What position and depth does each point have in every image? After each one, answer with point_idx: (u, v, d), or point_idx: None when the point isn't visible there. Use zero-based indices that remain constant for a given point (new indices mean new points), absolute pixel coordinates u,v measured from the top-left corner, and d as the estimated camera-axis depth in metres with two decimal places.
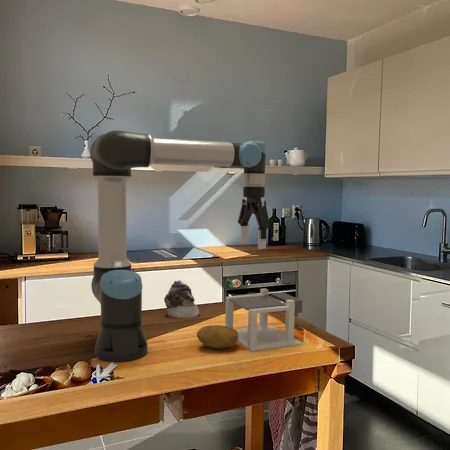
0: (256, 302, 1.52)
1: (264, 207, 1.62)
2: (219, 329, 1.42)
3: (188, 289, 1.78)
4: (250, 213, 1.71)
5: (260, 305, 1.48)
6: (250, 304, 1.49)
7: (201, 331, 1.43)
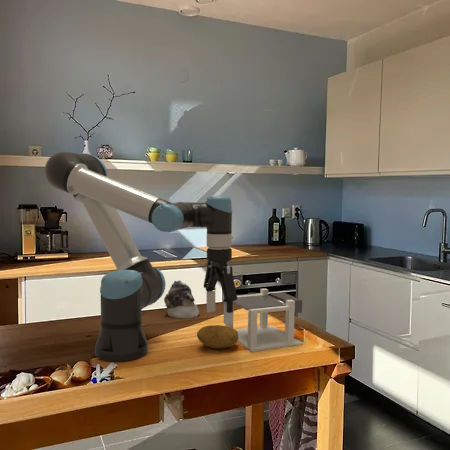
0: (256, 302, 1.52)
1: (230, 275, 1.37)
2: (219, 329, 1.42)
3: (188, 289, 1.78)
4: (216, 277, 1.47)
5: (260, 305, 1.48)
6: (250, 304, 1.49)
7: (201, 331, 1.43)
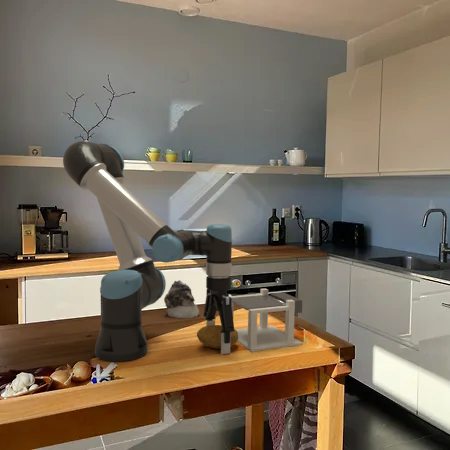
0: (256, 302, 1.52)
1: (229, 306, 1.38)
2: (219, 329, 1.42)
3: (188, 289, 1.78)
4: (216, 306, 1.47)
5: (260, 305, 1.48)
6: (250, 304, 1.49)
7: (201, 331, 1.43)
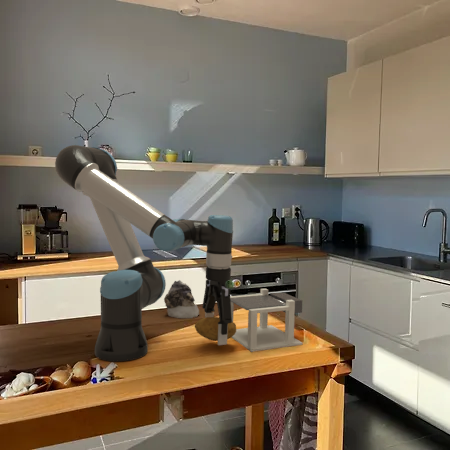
0: (256, 302, 1.52)
1: (228, 297, 1.38)
2: (217, 321, 1.42)
3: (188, 289, 1.78)
4: (215, 297, 1.47)
5: (260, 305, 1.48)
6: (250, 304, 1.49)
7: (199, 322, 1.43)
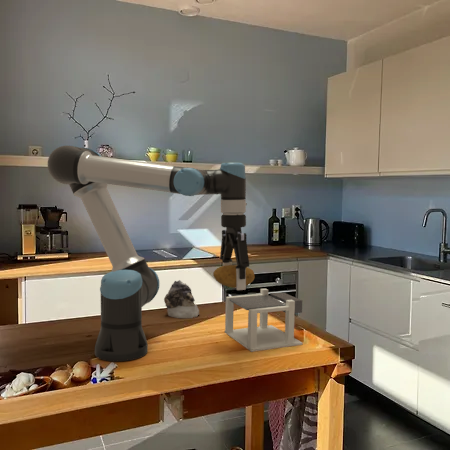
0: (256, 302, 1.52)
1: (244, 241, 1.39)
2: (235, 268, 1.43)
3: (188, 289, 1.78)
4: (231, 246, 1.48)
5: (260, 305, 1.48)
6: (250, 304, 1.49)
7: (217, 270, 1.44)
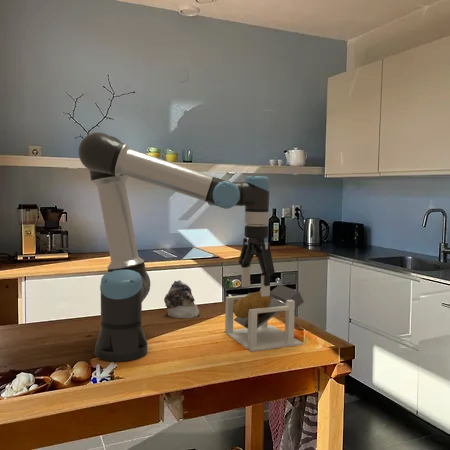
0: None
1: (268, 250, 1.45)
2: (250, 301, 1.49)
3: (188, 289, 1.78)
4: (252, 254, 1.55)
5: (263, 318, 1.49)
6: None
7: (236, 309, 1.50)
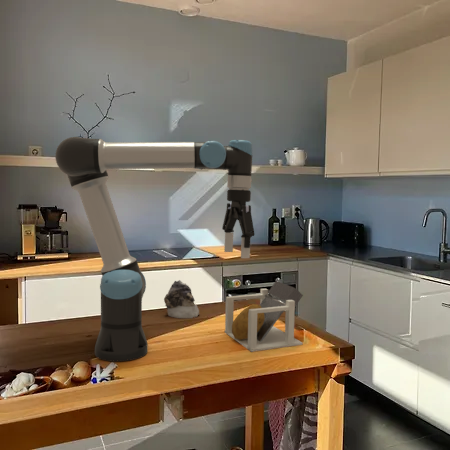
0: None
1: (248, 213, 1.47)
2: (244, 325, 1.48)
3: (188, 289, 1.78)
4: (235, 219, 1.57)
5: (267, 325, 1.50)
6: (260, 329, 1.51)
7: (234, 334, 1.50)
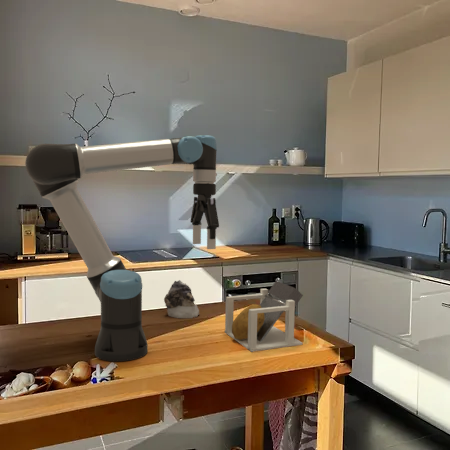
0: None
1: (213, 205, 1.53)
2: (244, 325, 1.48)
3: (188, 289, 1.78)
4: (202, 211, 1.63)
5: (267, 325, 1.50)
6: (260, 329, 1.51)
7: (234, 334, 1.50)
